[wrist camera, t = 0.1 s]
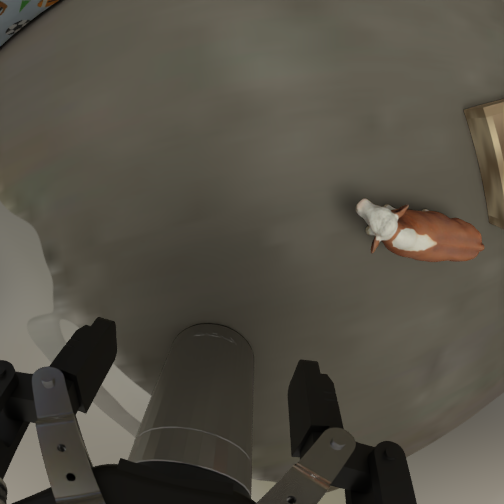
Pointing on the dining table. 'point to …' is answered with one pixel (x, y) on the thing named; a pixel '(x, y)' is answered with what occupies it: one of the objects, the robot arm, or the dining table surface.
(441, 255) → the bull figurine
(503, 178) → the wooden tray
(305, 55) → the dining table surface
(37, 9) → the lunch bag
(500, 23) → the dining table surface
